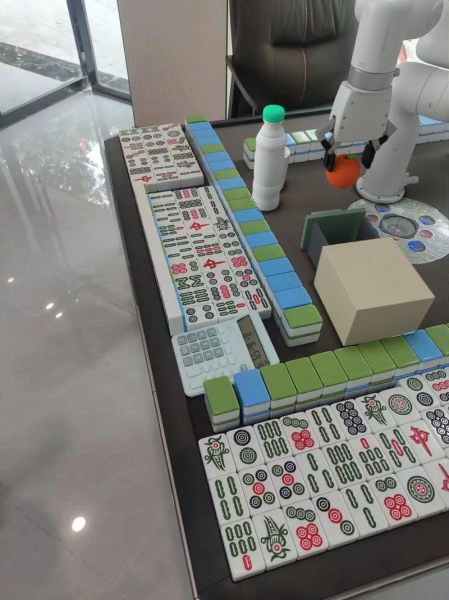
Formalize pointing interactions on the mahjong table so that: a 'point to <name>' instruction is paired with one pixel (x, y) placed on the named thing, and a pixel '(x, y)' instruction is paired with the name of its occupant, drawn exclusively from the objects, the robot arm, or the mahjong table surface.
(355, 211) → the drawer
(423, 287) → the cabinet
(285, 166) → the white cup
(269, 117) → the water bottle
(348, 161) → the clementine
